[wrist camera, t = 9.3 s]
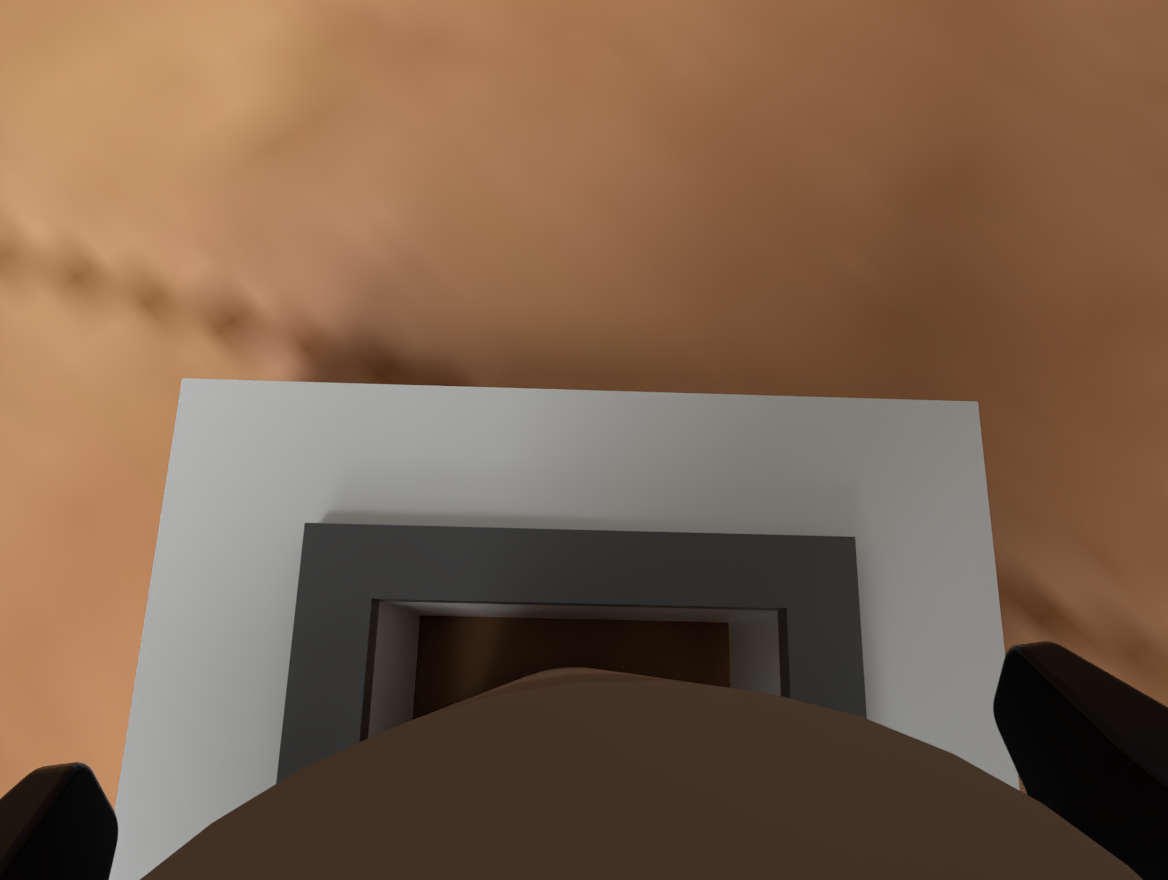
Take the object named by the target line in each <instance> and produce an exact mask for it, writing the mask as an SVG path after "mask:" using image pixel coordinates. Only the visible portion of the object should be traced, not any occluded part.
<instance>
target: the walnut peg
mask: <svg viewBox="0 0 1168 880" xmlns="http://www.w3.org/2000/svg"><path fill="white" fill-rule="evenodd" d="M140 880H1143V879H1142V878H1141V877H1140V876H1139V875H1137V874H1136V873H1135V872H1134V871H1133V870H1132V869H1131V868H1130V867H1129V866H1128V865H1126V864H1125V863H1124V862H1122V861H1121V860H1119V859H1118V858H1117V857H1115V856H1114V855H1113V854H1111V853H1110V852H1108V851H1107V850H1106V849H1104V848H1103V847H1102V846H1100V845H1099V844H1097V843H1096V842H1095V841H1093V840H1092V839H1091V838H1089V837H1088V836H1086V835H1085V834H1084V833H1082V832H1081V831H1080V830H1078V829H1077V828H1075V827H1074V826H1073V825H1071V824H1070V823H1069V822H1067V821H1066V820H1064V819H1063V818H1062V817H1060V816H1059V815H1058V814H1056V813H1055V812H1053V811H1052V810H1051V809H1049V808H1048V807H1047V806H1045V805H1044V804H1042V803H1041V802H1039V801H1037V800H1035V799H1034V798H1032V797H1030V796H1028V795H1026V794H1025V793H1023V792H1021V791H1019V790H1017V789H1016V788H1014V787H1012V786H1010V785H1009V784H1007V783H1005V782H1003V781H1001V780H1000V779H998V778H996V777H994V776H992V775H991V774H989V773H987V772H985V771H983V770H982V769H980V768H978V767H976V766H974V765H973V764H971V763H969V762H967V761H965V760H964V759H962V758H960V757H958V756H957V755H955V754H953V753H950V752H948V751H945V750H943V749H940V748H938V747H935V746H933V745H930V744H928V743H925V742H923V741H920V740H918V739H916V738H913V737H911V736H908V735H906V734H903V733H901V732H898V731H896V730H893V729H891V728H888V727H886V726H883V725H881V724H878V723H876V722H873V721H871V720H868V719H866V718H863V717H860V716H856V715H852V714H848V713H844V712H841V711H837V710H833V709H829V708H825V707H821V706H817V705H813V704H809V703H806V702H802V701H798V700H794V699H790V698H786V697H782V696H778V695H774V694H771V693H764V692H757V691H750V690H743V689H735V688H728V687H721V686H714V685H707V684H700V683H693V682H686V681H679V680H672V679H664V678H657V677H650V676H643V675H636V674H629V673H622V672H615V671H608V670H600V669H593V668H585V667H559V668H552V669H547V670H544V671H540V672H537V673H534V674H531V675H529V676H526V677H523V678H521V679H518V680H516V681H513V682H510V683H508V684H505V685H502V686H500V687H497V688H495V689H492V690H489V691H487V692H484V693H482V694H479V695H476V696H474V697H471V698H469V699H466V700H463V701H461V702H458V703H455V704H453V705H450V706H448V707H445V708H442V709H440V710H437V711H435V712H432V713H429V714H427V715H424V716H421V717H419V718H416V719H414V720H411V721H408V722H406V723H403V724H401V725H398V726H395V727H393V728H391V729H389V730H386V731H384V732H382V733H380V734H377V735H375V736H373V737H371V738H368V739H366V740H364V741H362V742H359V743H357V744H355V745H353V746H351V747H348V748H346V749H344V750H342V751H339V752H337V753H335V754H333V755H330V756H328V757H326V758H324V759H321V760H319V761H317V762H315V763H312V764H310V765H308V766H306V767H304V768H302V769H300V770H298V771H297V772H295V773H293V774H292V775H290V776H288V777H287V778H285V779H283V780H282V781H280V782H278V783H277V784H275V785H274V786H272V787H270V788H269V789H267V790H265V791H264V792H262V793H260V794H259V795H257V796H255V797H254V798H252V799H251V800H249V801H247V802H246V803H244V804H242V805H241V806H239V807H237V808H236V809H234V810H232V811H231V812H229V813H227V814H226V815H224V816H223V817H221V818H219V819H218V820H216V821H214V822H213V823H211V824H210V825H209V826H207V827H206V828H205V829H204V830H202V831H201V832H200V833H198V834H197V835H196V836H195V837H193V838H192V839H191V840H190V841H188V842H187V843H186V844H184V845H183V846H182V847H181V848H179V849H178V850H177V851H176V852H174V853H173V854H172V855H170V856H169V857H168V858H167V859H165V860H164V861H163V862H162V863H160V864H159V865H158V866H156V867H155V868H154V869H153V870H151V871H150V872H149V873H148V874H146V875H145V876H144V877H142V878H141V879H140Z"/></svg>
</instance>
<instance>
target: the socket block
mask: <svg viewBox="0 0 1168 880" xmlns="http://www.w3.org/2000/svg"><path fill="white" fill-rule="evenodd" d="M420 615H423V616H467V617H510V618H554V619H597V620H641V621H684V622H728V623H729V658H730V688H735V689H743V690H750V691H757V692H764V693H771V694H774V695H778V696H782V697H786V698H790V699H794V700H798V701H802V702H806V703H809V704H813V705H817V706H821V707H825V708H829V709H833V710H837V711H841V712H844V713H848V714H852V715H856V716H860V717H863V718H866V719H868V720H871V721H873V722H876V723H878V724H881V725H883V726H886V727H888V728H891V729H893V730H896V731H898V732H901V733H903V734H906V735H908V736H911V737H913V738H916V739H918V740H920V741H923V742H925V743H928V744H930V745H933V746H935V747H938V748H940V749H943V750H945V751H948V752H950V753H953V754H955V755H957V756H958V757H960V758H962V759H964V760H965V761H967V762H969V763H971V764H973V765H974V766H976V767H978V768H980V769H982V770H983V771H985V772H987V773H989V774H991V775H992V776H994V777H996V778H998V779H1000V780H1001V781H1003V782H1005V783H1007V784H1009V785H1010V786H1012V787H1014V788H1016V789H1017V790H1019V791H1020V787H1019V778H1018V773H1017V771H1016V768H1015V766H1014V764H1013V762H1012V759H1011V757H1010V755H1009V753H1008V750H1007V748H1006V746H1005V744H1004V742H1003V739H1002V737H1001V735H1000V733H999V730H998V728H997V725H996V722H995V719H994V713H993V701H994V697H995V693H996V689H997V685H998V681H999V677H1000V674H1001V670H1002V666H1003V662H1004V658H1005V648H1004V639H1003V630H1002V621H1001V611H1000V602H999V593H998V584H997V574H996V565H995V556H994V547H993V537H992V528H991V519H990V510H989V500H988V491H987V482H986V473H985V463H984V454H983V445H982V435H981V426H980V417H979V408H978V401H944V400H909V399H875V398H841V397H806V396H772V395H738V394H704V393H669V392H635V391H601V390H566V389H532V388H498V387H463V386H429V385H395V384H360V383H326V382H292V381H257V380H223V379H189V378H182V383H181V389H180V396H179V402H178V409H177V415H176V421H175V428H174V434H173V441H172V447H171V454H170V460H169V466H168V473H167V479H166V486H165V492H164V498H163V505H162V511H161V518H160V524H159V531H158V537H157V543H156V550H155V556H154V563H153V569H152V575H151V582H150V588H149V595H148V601H147V607H146V614H145V620H144V627H143V633H142V640H141V646H140V652H139V659H138V665H137V672H136V678H135V684H134V691H133V697H132V704H131V710H130V717H129V723H128V729H127V736H126V742H125V749H124V755H123V761H122V768H121V774H120V781H119V787H118V794H117V800H116V806H115V814H116V817H117V822H118V841H117V846H116V851H115V855H114V859H113V864H112V868H111V873H110V877H109V880H140V879H141V878H142V877H144V876H145V875H146V874H148V873H149V872H150V871H151V870H153V869H154V868H155V867H156V866H158V865H159V864H160V863H162V862H163V861H164V860H165V859H167V858H168V857H169V856H170V855H172V854H173V853H174V852H176V851H177V850H178V849H179V848H181V847H182V846H183V845H184V844H186V843H187V842H188V841H190V840H191V839H192V838H193V837H195V836H196V835H197V834H198V833H200V832H201V831H202V830H204V829H205V828H206V827H207V826H209V825H210V824H211V823H213V822H214V821H216V820H218V819H219V818H221V817H223V816H224V815H226V814H227V813H229V812H231V811H232V810H234V809H236V808H237V807H239V806H241V805H242V804H244V803H246V802H247V801H249V800H251V799H252V798H254V797H255V796H257V795H259V794H260V793H262V792H264V791H265V790H267V789H269V788H270V787H272V786H274V785H275V784H277V783H278V782H280V781H282V780H283V779H285V778H287V777H288V776H290V775H292V774H293V773H295V772H297V771H298V770H300V769H302V768H304V767H306V766H308V765H310V764H312V763H315V762H317V761H319V760H321V759H324V758H326V757H328V756H330V755H333V754H335V753H337V752H339V751H342V750H344V749H346V748H348V747H351V746H353V745H355V744H357V743H359V742H362V741H364V740H366V739H368V738H371V737H373V736H375V735H377V734H380V733H382V732H384V731H386V730H389V729H391V728H393V727H395V726H398V725H401V724H403V723H406V722H408V721H411V720H413V707H414V693H415V679H416V665H417V651H418V637H419V623H420Z"/></svg>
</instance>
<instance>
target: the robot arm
mask: <svg viewBox="0 0 1168 880" xmlns="http://www.w3.org/2000/svg"><path fill="white" fill-rule="evenodd" d="M993 713H994V719H995V722H996V725H997V728H998V730H999V733H1000V735H1001V737H1002V739H1003V742H1004V744H1005V746H1006V748H1007V750H1008V753H1009V755H1010V757H1011V759H1012V762H1013V764H1014V766H1015V768H1016V771H1017V773H1018V775H1019V777H1020V780H1021V782H1022V784H1023V786H1024V789H1025V791H1026V793H1027V795H1028V796H1030V797H1032V798H1034V799H1035V800H1037V801H1039V802H1041V803H1042V804H1044V805H1045V806H1047V807H1048V808H1049V809H1051V810H1052V811H1053V812H1055V813H1056V814H1058V815H1059V816H1060V817H1062V818H1063V819H1064V820H1066V821H1067V822H1069V823H1070V824H1071V825H1073V826H1074V827H1075V828H1077V829H1078V830H1080V831H1081V832H1082V833H1084V834H1085V835H1086V836H1088V837H1089V838H1091V839H1092V840H1093V841H1095V842H1096V843H1097V844H1099V845H1100V846H1102V847H1103V848H1104V849H1106V850H1107V851H1108V852H1110V853H1111V854H1113V855H1114V856H1115V857H1117V858H1118V859H1119V860H1121V861H1122V862H1124V863H1125V864H1126V865H1128V866H1129V867H1130V868H1131V869H1132V870H1133V871H1134V872H1135V873H1136V874H1137V875H1139V876H1140V877H1141V878H1142V879H1143V880H1168V707H1166V706H1164V705H1163V704H1161V703H1159V702H1158V701H1156V700H1154V699H1152V698H1151V697H1149V696H1147V695H1145V694H1144V693H1142V692H1140V691H1139V690H1137V689H1135V688H1133V687H1132V686H1130V685H1128V684H1126V683H1125V682H1123V681H1121V680H1119V679H1118V678H1116V677H1114V676H1113V675H1111V674H1109V673H1107V672H1106V671H1104V670H1102V669H1100V668H1099V667H1097V666H1095V665H1094V664H1092V663H1090V662H1088V661H1087V660H1085V659H1083V658H1081V657H1080V656H1078V655H1076V654H1074V653H1073V652H1071V651H1069V650H1068V649H1066V648H1064V647H1062V646H1060V645H1058V644H1056V643H1053V642H1037V643H1029V644H1021V645H1015V646H1012V647H1011V648H1010V649H1009V650H1008V651H1007V653H1006V655H1005V658H1004V662H1003V666H1002V670H1001V674H1000V677H999V681H998V685H997V689H996V693H995V697H994V701H993ZM117 841H118V822H117V817H116V814H115V812H114V810H113V808H112V806H111V805H110V803H109V801H108V799H107V797H106V795H105V794H104V792H103V790H102V788H101V786H100V784H99V782H98V781H97V779H96V777H95V775H94V773H93V771H92V770H91V769H90V767H88V766H87V765H85V764H84V763H79V762H75V763H67V764H59V765H51V766H44V767H41V768H38V769H36V770H34V771H32V772H31V773H30V774H28V775H27V776H26V777H25V778H23V779H22V780H21V781H20V782H19V783H18V784H17V785H15V786H14V787H13V788H12V789H11V790H10V791H9V792H8V793H6V794H5V795H4V796H3V797H2V798H1V799H0V880H109V877H110V873H111V868H112V864H113V859H114V855H115V851H116V846H117Z"/></svg>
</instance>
